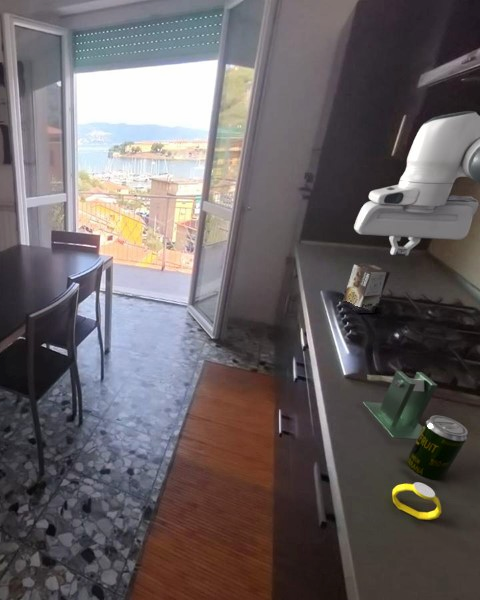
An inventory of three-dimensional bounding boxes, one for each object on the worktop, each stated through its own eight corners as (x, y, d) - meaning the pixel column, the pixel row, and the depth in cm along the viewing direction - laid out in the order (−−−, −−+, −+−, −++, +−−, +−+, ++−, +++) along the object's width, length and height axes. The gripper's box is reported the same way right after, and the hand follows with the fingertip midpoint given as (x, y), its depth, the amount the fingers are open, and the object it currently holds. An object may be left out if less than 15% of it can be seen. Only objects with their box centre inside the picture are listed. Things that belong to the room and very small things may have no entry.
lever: (367, 382, 85) (367, 372, 85) (394, 383, 84) (394, 373, 85) (402, 390, 74) (402, 379, 74) (434, 392, 74) (434, 380, 74)
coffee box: (375, 314, 127) (391, 271, 120) (357, 314, 127) (372, 272, 120) (358, 303, 135) (371, 262, 128) (340, 303, 135) (353, 263, 128)
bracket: (361, 405, 86) (379, 361, 80) (397, 407, 85) (418, 363, 79) (391, 441, 76) (414, 393, 70) (433, 444, 75) (459, 396, 69)
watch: (387, 507, 63) (399, 484, 60) (387, 496, 64) (399, 473, 62) (433, 529, 59) (448, 505, 57) (432, 516, 61) (446, 492, 58)
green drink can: (424, 460, 71) (449, 414, 66) (449, 484, 66) (478, 436, 61) (397, 460, 71) (420, 414, 66) (420, 484, 66) (447, 437, 61)
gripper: (473, 194, 78) (447, 254, 84) (362, 191, 84) (345, 247, 90) (491, 198, 73) (462, 262, 78) (371, 195, 79) (352, 255, 85)
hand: (398, 254), depth 84 cm, fingers closed
